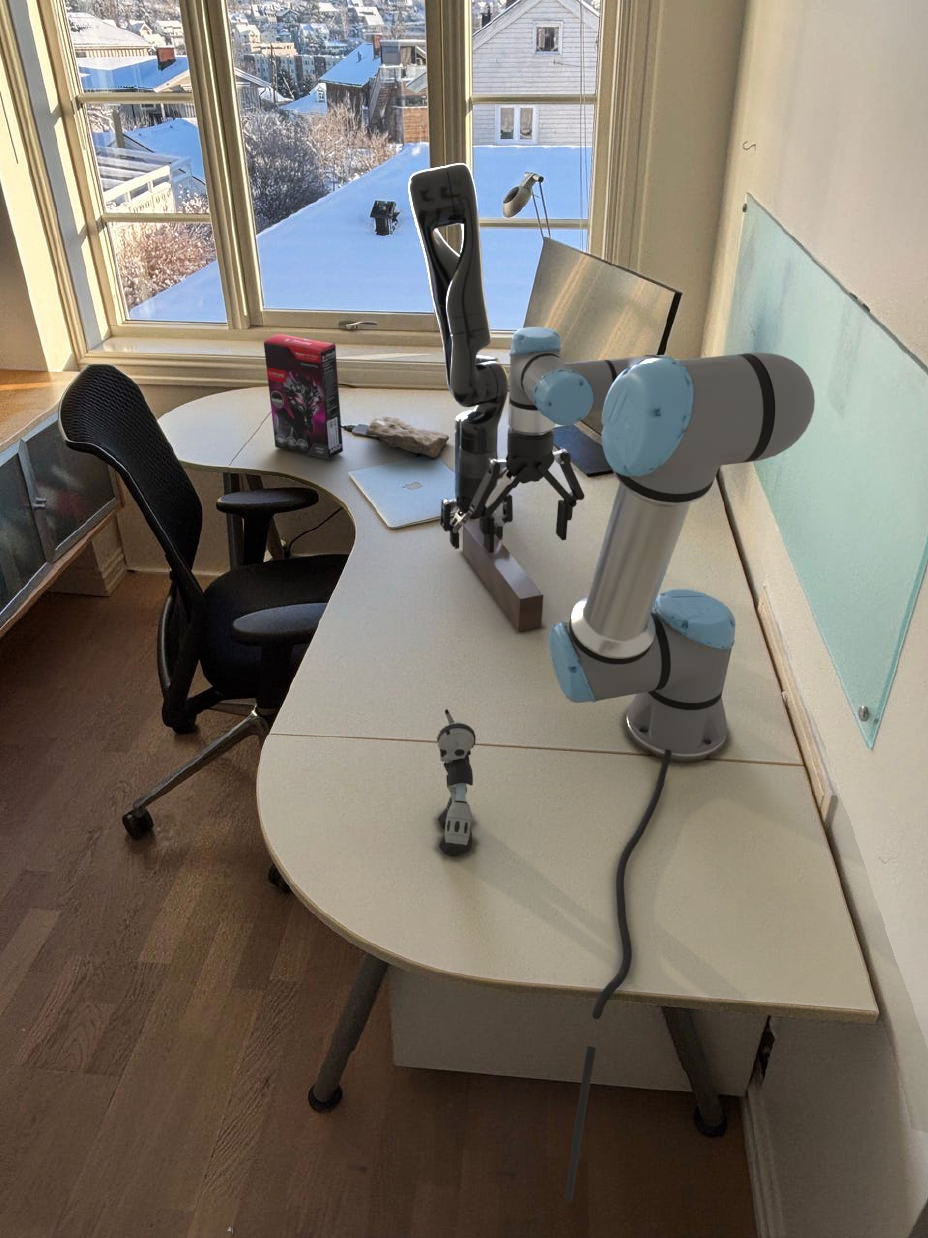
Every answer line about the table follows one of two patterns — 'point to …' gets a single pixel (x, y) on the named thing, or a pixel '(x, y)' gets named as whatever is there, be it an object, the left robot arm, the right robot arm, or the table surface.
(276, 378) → the graphics card box
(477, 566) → the beam
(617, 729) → the table surface
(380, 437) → the stone
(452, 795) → the robot
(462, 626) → the table surface
